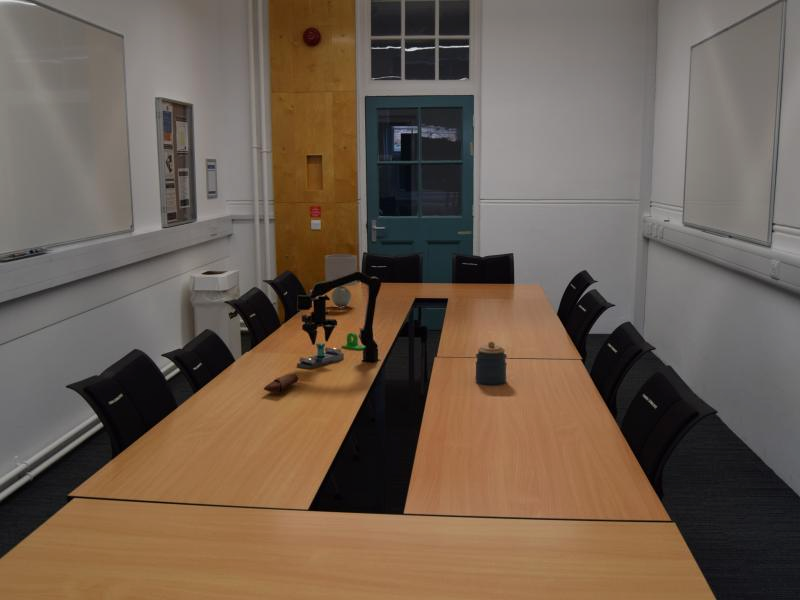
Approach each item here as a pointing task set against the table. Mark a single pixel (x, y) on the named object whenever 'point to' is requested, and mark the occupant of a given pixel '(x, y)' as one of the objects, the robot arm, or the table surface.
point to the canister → (491, 365)
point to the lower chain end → (311, 363)
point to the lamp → (338, 268)
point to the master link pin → (320, 350)
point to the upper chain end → (329, 355)
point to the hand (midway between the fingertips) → (320, 343)
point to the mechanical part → (353, 342)
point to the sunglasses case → (281, 383)
